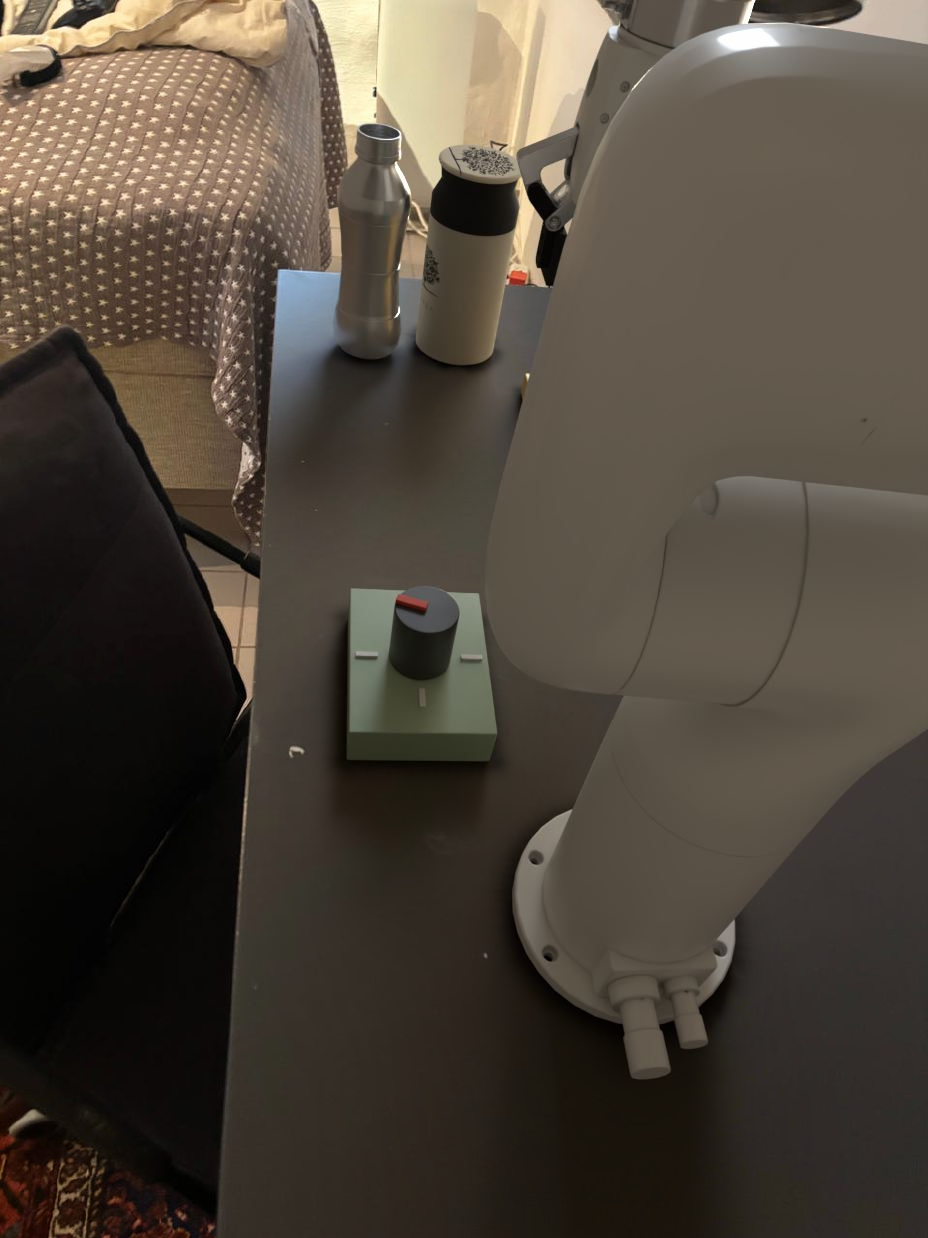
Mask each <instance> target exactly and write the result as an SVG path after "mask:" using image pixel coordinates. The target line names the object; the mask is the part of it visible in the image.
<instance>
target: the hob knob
mask: <svg viewBox="0 0 928 1238" xmlns="http://www.w3.org/2000/svg"><path fill="white" fill-rule="evenodd" d="M403 591H404V592H403V593H401V594H398V596H397V598H396V602H395V606H394V614H393V622H392V631H391V639H390V647H389V659H390V662H391V664H392V666H393V667H394V668H395V669H396V670H397V671H398V672H399V673H400V674H402V675H403V676H406V677H408V678H411V679H415V680H429V679H433V678H436V677H438V676H440V675H441V674H442V673H444V672H445V671H446V669H447V668H448V666H449V664H450V660H451V655H452V650H453V645H454V640H455V635H456V630H457V625H458V620H459V615H460V611H459V606H458V604H457V602H456V601H455V599H454V598H453V597H452V596H451V595H450V594H448V593H447V591H445V590H443V589H441V588H439V587H434V586H429V585H418V586H412V587H410V588H408V589H406V590H403Z"/></svg>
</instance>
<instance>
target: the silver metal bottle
mask: <svg viewBox="0 0 928 1238" xmlns="http://www.w3.org/2000/svg"><path fill="white" fill-rule="evenodd" d="M401 147H402V132H401V131H400V130H399V129H398V128H395V127H394V126H390V125H389V124H383V123H376V122H367V123H361V124H359V125H358V126H357V129H356V138H355V144H354V150H353V151H354V154H355V155H356V156H357V158H356V159H355V160H354V161H353V162H352V164H351V165H349V167H348V168H347V170H346V171H345V172H344V174H343V176H342V177H341V178H340V179H339V180H340V181H339V184H338V187H337V189H336V190H337V191H336V203H337V212H338V222H339V231H340V254H341V257H340V258H341V262H340V263H341V264H340V265H341V268H340V275H339V277H340V278H339V286H338V294H337V299H336V303H335V307H334V312H333V317H332V327H333V334H334V339H335V341H336V342H337V344H338V345H339V347H340V348H341V349H342V350H343V352H345V353H347V354H348V355H350V356H352V357H356V358H359V359H363V360H379V359H383V358H386V357H388V356H390V355H391V354H392V353H393V352H394V351H395V350H396V349H397V347H398V346H399V342H400V339H401V335H402V315H401V313H402V312H401V308H400V271H401V262H402V256H403V248H404V242H405V238H406V233H407V228H408V225H409V221H410V215H411V212H412V211H411V210H412V204H413V200H412V194H411V190H410V187H409V184H408V182H407V180H406V177H405V176H404V174H403V172H402V170H401V169H400V167H399V165H398V162H399V161H400V160H401V159H402V149H401Z"/></svg>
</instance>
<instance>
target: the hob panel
mask: <svg viewBox="0 0 928 1238" xmlns="http://www.w3.org/2000/svg"><path fill="white" fill-rule="evenodd" d="M404 591H405V590H402V589H401V590H398V589H377V588H375V589H373V588H350V589H349V598H348V612H347V678H346V679H347V685H346V686H347V691H346V694H347V696H346V760H347V761H409V762H410V761H412V762H413V761H417V762H418V761H419V762H420V761H424V762H426V761H428V762H430V761H431V762H490V760H491V757H492V754H493V751H494V747H495V744H496V740H497V738H498V727H497V721H496V713H495V706H494V697H493V690H492V683H491V676H490V667H489V658H488V652H487V643H486V635H485V629H484V628H485V627H484V622H483V620H484V619H483V614H482V606H481V597H480V594H479V593H477V592H475V593H473V592H470V593H469V592H451V591H449V592H447V591H446V592H447V593H448V594H450V595H451V596H452V597H453V598H454V599H455V601H456V602H457V604H458V606H459V611H460V615H459V620H458V625H457V630H456V635H455V640H454V645H453V650H452V655H451V660H450V664H449V666H448V668H447V669H446V671H445V672H444V673H442V674H441V675H440V676H438V677H436V678H433V679H429V680H415V679H411V678H408V677H406V676H403V675H402V674H400V673H399V672H398V671H397V670H396V669H395V668H394V667H393V666H392V664H391V662H390V659H389V647H390V639H391V631H392V622H393V614H394V606H395V602H396V598H397V596H398V594H401V593H403V592H404Z"/></svg>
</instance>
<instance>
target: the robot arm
mask: <svg viewBox="0 0 928 1238" xmlns="http://www.w3.org/2000/svg"><path fill="white" fill-rule="evenodd" d="M755 1H756V0H601V1H600V6H601V9H603V10H609V11H612V13H613V14H617V18H618V20H619V23H618V25H610V26H609V27H608V28H607V30H606V33H605V35H604V38H603V39H602V42H601V44H600V47H599V49H598V52H597V55H596V56H595V59H594V63H593V65H592V67H591V71H590V74H589V76H588V79H587V82H586V85H585V88H584V91H583V93H582V96H581V100H580V103H579V107H578V110H577V113H576V117H575V120H574V124H573V127H570V128H568V129H566V130H562V131H561V132H558V133H556V134H553V135H551V136H548V137H545V138H543V139H541V140H538V141H536V142H534V143H531V144H529V145H526V146H523V147H521V148H519V149H518V150H517V152H516V154H515V158H516V159H517V163H518V166H519V169H520V173H521V180H522V183H523V186H524V191H525V193H526V196H527V199H528V201H529V203H530V204H531V205H532V207H533V208H534V210H535V211H536V213H537V214H538V216H539V217H540V218H541V220H542V223H541V227H540V233H539V238H538V242H537V248H536V253H535V266H536V269H540V271H541V274H542V277H543V281H544V284H545V287H552V288H551V292H550V297H549V300H548V303H547V308H546V311H545V315H544V319H543V323H542V326H541V330H540V334H539V338H538V342H537V345H536V349H535V353H534V357H533V360H532V364H531V368H530V372H529V374H530V375H529V379H528V383H527V386H526V390H525V394H524V398H523V399H522V402H521V406H520V409H519V414H518V417H517V420H516V423H515V424H516V425H515V428H514V432H513V435H512V440H511V444H510V447H509V451H508V455H507V458H506V462H505V465H504V469H503V473H502V476H501V480H500V484H499V488H498V493H497V497H496V500H495V506H494V510H493V513H492V518H491V522H490V527H489V533H488V538H487V546H486V552H485V560H484V561H485V563H484V600H485V607H486V614H487V618H488V623H489V626H490V629H491V631H492V633H493V637H494V639H495V641H496V643H497V645H498V648H499V649H500V650H501V651H502V653H503V655H504V656H505V657H506V659H507V660H508V661H509V662H510V663H511V664H512V665H513V666H514V667H515V668H516V669H517V670H518V671H520V672H521V673H522V674H524V675H526V676H528V677H529V678H531V679H532V680H535V681H537V682H539V683H541V684H544V685H546V686H547V685H548V686H550V687H555V688H558V689H563V690H568V691H574V692H581V693H590V694H600V695H610V696H622V698H621V700H620V703H619V705H618V707H617V709H616V711H615V714H614V716H613V718H612V719H611V722H610V724H609V726H608V729H607V731H606V733H605V735H604V738H603V740H602V741H601V744H600V746H599V748H598V750H597V754H596V755H595V758H594V760H593V761H592V764H591V766H590V769H589V771H588V774H587V775H586V778H585V780H584V782H583V785H582V786H581V789H580V791H579V793H578V796H577V798H576V800H575V803H574V805H573V807H572V808H571V809H569V810H567V811H564V812H563V813H561V814H559V815H556V816H554V817H553V818H552V819H550V820H549V821H548V822H546V823H544V825H542V826H541V827H540V828H539V829H538V831H536V833H535V834H534V835H533V836H532V837H531V839H530V840H529V841H528V843H527V844H526V846H525V848H524V850H523V851H522V854H521V856H520V858H519V861H518V863H517V866H516V869H515V873H514V879H513V884H512V888H511V889H512V890H511V899H512V900H511V901H512V902H511V903H512V915H513V919H514V924H515V928H516V932H517V935H518V938H519V940H520V943H521V945H522V946H523V950H524V951H525V954H526V955H527V957H528V959H529V960H530V961H531V964H533V967H534V968H535V969H536V971H537V972H538V974H539V975H540V976H541V977H542V978H543V979H544V980H545V981H546V982H547V984H548V985H549V986H550V987H551V988H552V989H553V990H554V991H555V992H556V993H558V994H559V995H560V996H561V997H563V998H564V999H565V1000H567V1001H568V1002H569V1003H571V1004H572V1005H573V1006H574V1007H576V1008H579V1009H580V1010H582V1011H584V1012H586V1013H587V1014H590V1015H592V1016H593V1017H596V1018H599V1019H602V1020H604V1021H605V1020H606V1021H609V1022H612V1023H615V1024H620V1025H622V1026H623V1027H622V1028H623V1033H624V1036H623V1037H622V1040H623V1044H624V1049H625V1055H626V1059H627V1064H628V1070H629V1075H630V1077H631V1078H632V1079H634V1080H653V1079H658V1078H661V1077H664V1076H667V1075H669V1074H670V1073H671V1071H672V1068H671V1064H670V1059H669V1055H668V1050H667V1047H666V1042H665V1041H666V1040H665V1037H664V1033H663V1030H662V1029H660V1025H663V1024H667V1023H669V1022H673V1023H674V1027H675V1030H676V1034H677V1039H678V1044H679V1048H681V1049H683V1050H693V1049H699V1048H702V1047H705V1046H707V1045H708V1044H709V1039H708V1035H707V1031H706V1028H705V1023H704V1020H703V1019H704V1018H703V1016H702V1014H700V1009H699V1008H700V1007H701V1006H702V1005H703V1004H704V1003H705V1002H706V1001H707V1000H708V999H709V998H710V997H711V996H712V995H713V994H714V993H715V992H716V990H717V989H718V988H719V986H720V984H722V982H723V981H724V979H725V977H726V975H727V973H728V971H729V969H730V967H731V964H732V962H733V955H734V951H735V946H736V918H737V917H738V916H739V914H741V912H742V911H743V910H744V908H746V906H747V905H748V904H749V903H750V901H751V900H752V899H753V898H754V897H755V896H756V895H757V893H758V892H759V891H760V890H762V887H763V886H765V884H766V883H767V882H768V881H769V880H770V878H772V876H773V875H774V874H775V872H777V870H778V869H779V868H780V867H781V865H782V864H783V863H784V862H785V861H786V859H787V858H788V857H789V856H790V855H791V854H792V853H793V851H795V849H796V848H797V847H798V846H799V845H800V843H801V842H802V841H803V840H804V839H805V838H806V837H807V836H808V835H809V834H810V832H811V831H812V830H813V829H814V828H815V827H816V825H817V824H819V822H820V821H821V820H822V819H823V817H824V816H825V815H826V814H827V813H828V812H829V811H830V809H831V808H832V807H833V806H834V805H835V804H836V803H837V802H838V800H839V799H841V798H842V796H843V795H844V794H845V793H846V792H847V791H848V790H850V788H851V787H852V786H853V785H854V784H855V783H856V782H858V781H859V780H860V779H861V778H862V777H863V776H864V775H865V774H867V772H869V771H870V770H871V769H872V768H874V767H875V766H876V765H878V764H879V763H880V762H882V761H883V760H884V759H886V758H887V757H888V756H890V755H892V754H893V753H895V752H896V751H897V750H900V749H901V748H902V747H903V746H905V745H906V744H908V743H910V742H911V741H912V740H913V739H916V738H917V737H919V736H920V735H922V733H924V732H926V731H927V730H928V43H922V42H916V41H911V40H904V39H898V38H892V37H886V36H881V35H874V34H870V33H862V32H855V31H850V30H844V29H840V28H839V29H838V28H831V27H827V26H817V25H809V24H801V23H793V22H753V23H751V22H750V23H749V19H750V16H751V13H752V10H753V7H754V3H755ZM563 160H564V166H563V177H564V181H562V182H561V183H560V184H559V185H558V186H557V187H556V188H554V190H552V191H551V192H550V191H549V190H548V189H547V187H546V186H545V184H544V183H543V180H542V175H541V174H542V170H543V169H544V168H545V167H548V166H550V165H553V164H555V163H558V162H561V161H563ZM570 221H571V222H570ZM569 222H570V225H569V228H568V231H567V230H566V227H565V226H566V224H568V223H569ZM545 957H548V958H549V959H550V961H549V960H547V959H546V958H545Z"/></svg>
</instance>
